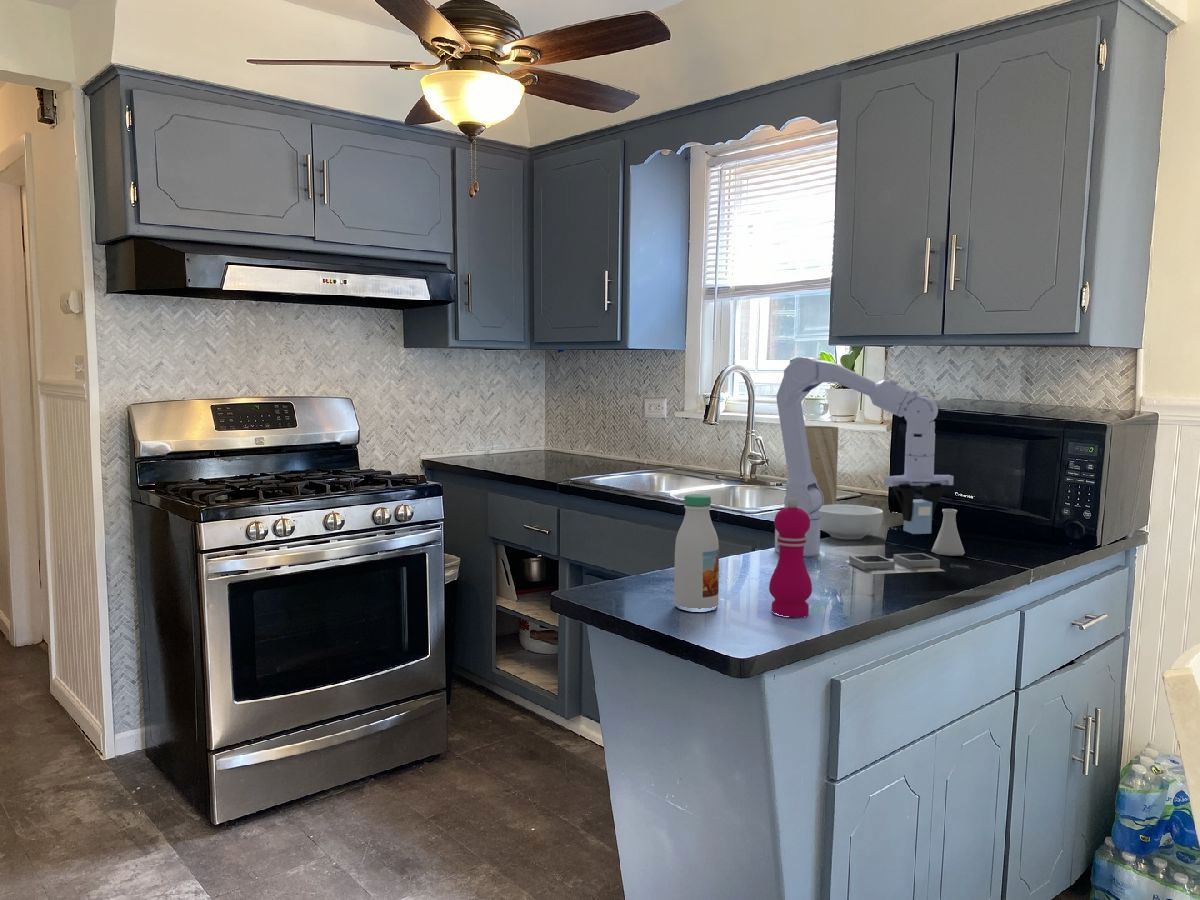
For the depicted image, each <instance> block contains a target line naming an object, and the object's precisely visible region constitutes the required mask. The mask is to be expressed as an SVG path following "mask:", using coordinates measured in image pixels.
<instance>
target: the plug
mask: <svg viewBox="0 0 1200 900" xmlns="http://www.w3.org/2000/svg"><path fill="white" fill-rule="evenodd" d="M932 521H933V517H932V502H930V501H926V500H923V498H922V499H920V498H919V499H917V498H915V499H913V504H912V518H911V521H906V520H903V531H904V532H907V533H908V534H909V533H910V534H911V535H922V534H924V535H926V534H932Z"/></svg>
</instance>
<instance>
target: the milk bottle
mask: <svg viewBox="0 0 1200 900" xmlns="http://www.w3.org/2000/svg"><path fill="white" fill-rule="evenodd" d="M683 499H684V500H683V501H684V502H683V503H684V506H683V507H684V509H685V513H684V517H683V520H682V523H681V525H680V527H679V529H678V532H677V535H676V536H675V545H674V580H673V581H674V584H673V586H674V589H673V590H674V595H673V597H674V598H673V601H674V602H675V603H676V604H677V605H679V606H682V607H687V608H698V609H701V608H712V607H715V606H717V605H718V606H719V587H720V585H719V580H720V577H719V576H720V573H719V571H720V548H719V547H720V545H719V537H718V535H717V532H716V529H715V526H714V525H713V521H712V518H711V515H710V509H711V504H712V498H711V495H708V494H703V493H692V494H691V493H690V494H685V495H684V498H683Z"/></svg>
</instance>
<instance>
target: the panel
mask: <svg viewBox="0 0 1200 900" xmlns="http://www.w3.org/2000/svg"><path fill="white" fill-rule="evenodd" d="M845 562H846V563H848V564H849V565H851V566H853V567H856V569H860V570H861V571H864V572H867V573H869V574H871V575H879V574H881V575H882V574H885V575H886V574H902V573H903V574H904V573H905V574H906V573H925V572H927V573H929V572H930V573H931V572H946V570H944V569H942V568H940V565H941V563H940V562H941V559H938V558H936V557H933V556H931V555H928V554H926V553H924V552H921V553H920V552H919V553H916V552H915V553H914V552H913V553H895V554H894V553H893V558H886V557H885V556H883V555H880V554H868V555H866V554H864V555H862V554H861V555H848V560H845Z"/></svg>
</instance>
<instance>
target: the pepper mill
mask: <svg viewBox="0 0 1200 900" xmlns="http://www.w3.org/2000/svg"><path fill="white" fill-rule="evenodd" d="M787 505H788V507H787V508H785V507H784V508H781V509H780V510H779V511H777V513H776V515H775V517H774V520H773V524H774V525H773V526H774V529H775V528H776V530H777V531H778V533H779V535H777V538H778V539H777V544H779V551H780V552H779V555H778V560H777V564H776V566H775V569H774V570H773V573H772V575H771V576H770V581H769V587H768V589H769V594H770V595H771V596H772V598H774V600H772V602H771V612H772V611H773V612H774V613H777V614H779V615H783V616H789V617H802V618H805V617H804V616H806V617H808V615H809V612H810V611H809V609H810V608H809V607H810V606H809V605H810V604H809V603H808V602H807V601H808V599H809V598H810V597H811V596H812V593H813V586H812V585H813V584H812V581H811V577H810V574H809V572H808V569H807V566H806V563H805V560H804V559H805V558H804V557H805V556H803V551H804V546H805V545H806V544H807V542H806V539H807V537H806V536H805V533H806V532H807V531H808V530H809V528H810V518H809V516H808V514H807V513H806V512H805V511H804V510H802V509H800V508H796V507H797V506H798V502H797V500H796V499H793V498H791V499H789V500H788V502H787Z"/></svg>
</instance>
